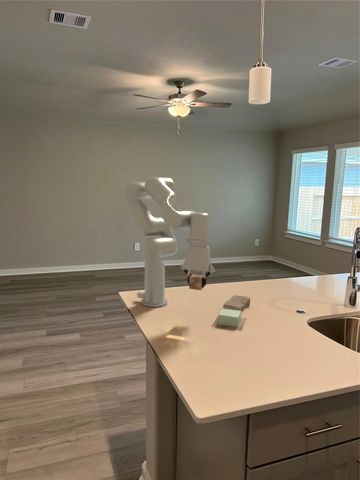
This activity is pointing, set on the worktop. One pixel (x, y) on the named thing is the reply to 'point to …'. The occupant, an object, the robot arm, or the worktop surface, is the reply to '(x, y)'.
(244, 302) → the brick
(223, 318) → the base block
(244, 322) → the baseplate
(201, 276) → the cherry block
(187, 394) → the worktop surface
